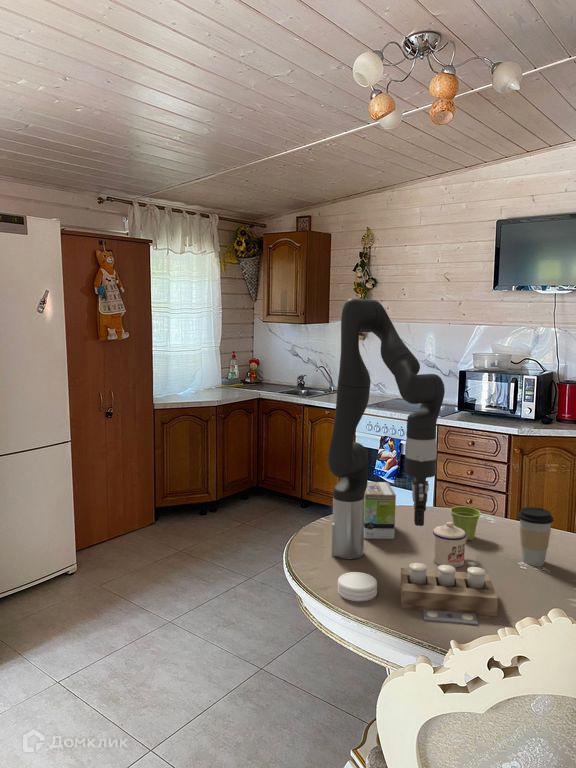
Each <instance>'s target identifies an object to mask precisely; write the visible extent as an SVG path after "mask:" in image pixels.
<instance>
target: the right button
mask: <svg viewBox="0 0 576 768" xmlns="http://www.w3.org/2000/svg"><path fill="white" fill-rule="evenodd" d="M467 572H468V576H467V586H468V587H469V588H472V589H484V581H485V574H486V570H485V569H484V568H481V567H477V566H469V567H468V568H467Z"/></svg>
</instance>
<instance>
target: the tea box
mask: <svg viewBox="0 0 576 768" xmlns="http://www.w3.org/2000/svg"><path fill="white" fill-rule="evenodd" d="M396 496H397V495H396V493H395V491H394V490H393V488H392V487H391V484H390V483H389V482H388V481H387V482H385V481H384V482H383V481H368V482H367V488H366V491H365V493H364V539H374V540H375V539H376V540H386V539H387V540H392V539H395V527H396V525H395V524H396V502H397V500H396V499H397V497H396Z"/></svg>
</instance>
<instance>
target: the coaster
mask: <svg viewBox="0 0 576 768" xmlns="http://www.w3.org/2000/svg"><path fill="white" fill-rule="evenodd" d="M377 589H378V581H377V579H376V578H375V577H374V576H372V575H371V574H368V573H366V572H361V571H360V572H358V571H349V572H346V573H343V574H342V575H340V576H339V577H338V579H337V592H338V595H339V596H340V597H341V598H344V599H345V600H349V601H352V602H367V601H370V600H373V599H374V598H376V596H377V594H378V591H377Z"/></svg>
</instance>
